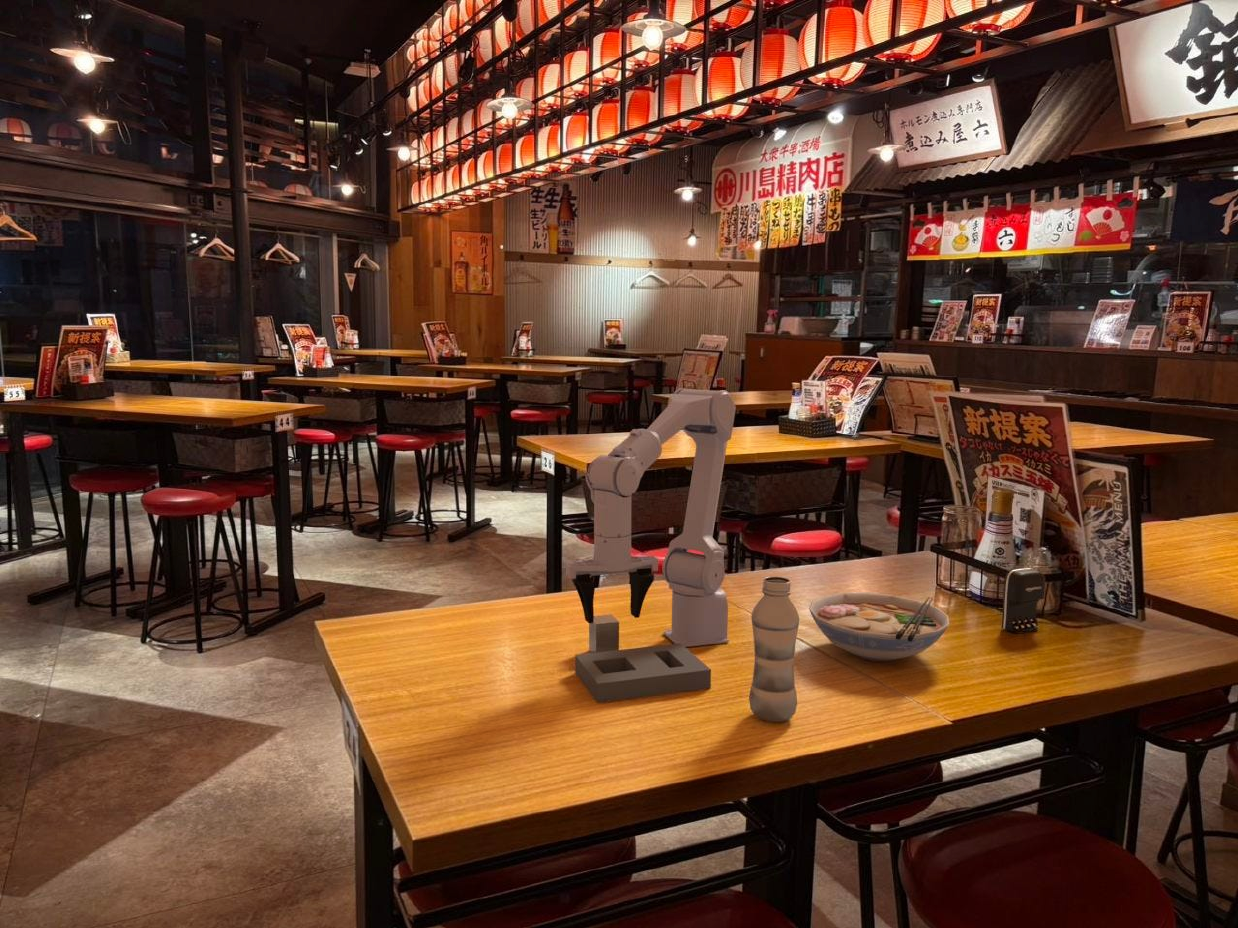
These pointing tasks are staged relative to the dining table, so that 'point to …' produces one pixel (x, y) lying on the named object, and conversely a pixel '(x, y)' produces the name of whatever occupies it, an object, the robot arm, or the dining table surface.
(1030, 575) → the battery charger
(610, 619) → the square bit
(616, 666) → the socket block
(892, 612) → the ramen bowl
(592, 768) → the dining table surface
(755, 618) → the plastic bottle
